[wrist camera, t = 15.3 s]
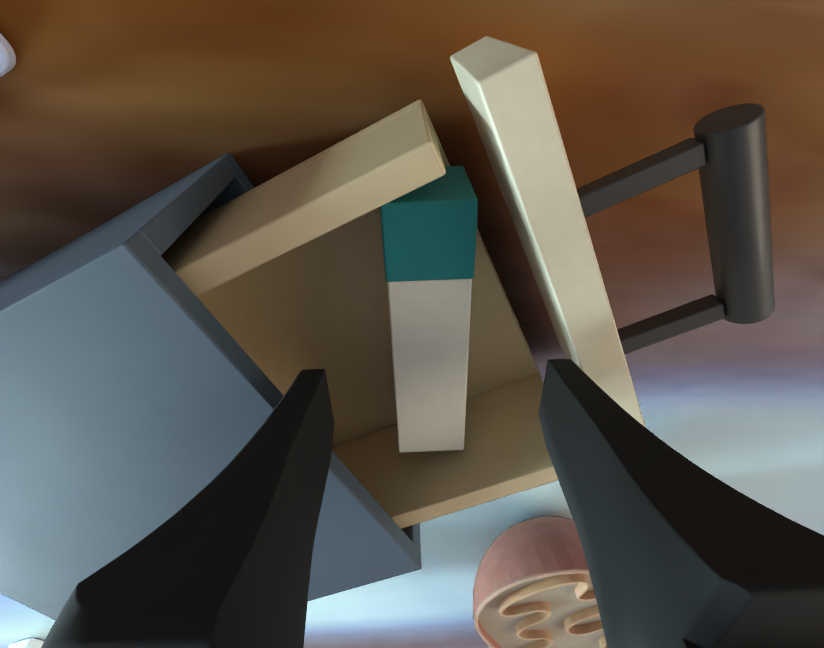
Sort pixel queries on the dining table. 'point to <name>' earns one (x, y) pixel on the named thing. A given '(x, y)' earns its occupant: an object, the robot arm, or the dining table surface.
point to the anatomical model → (537, 589)
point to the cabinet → (141, 409)
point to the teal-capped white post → (431, 307)
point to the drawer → (490, 308)
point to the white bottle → (27, 643)
